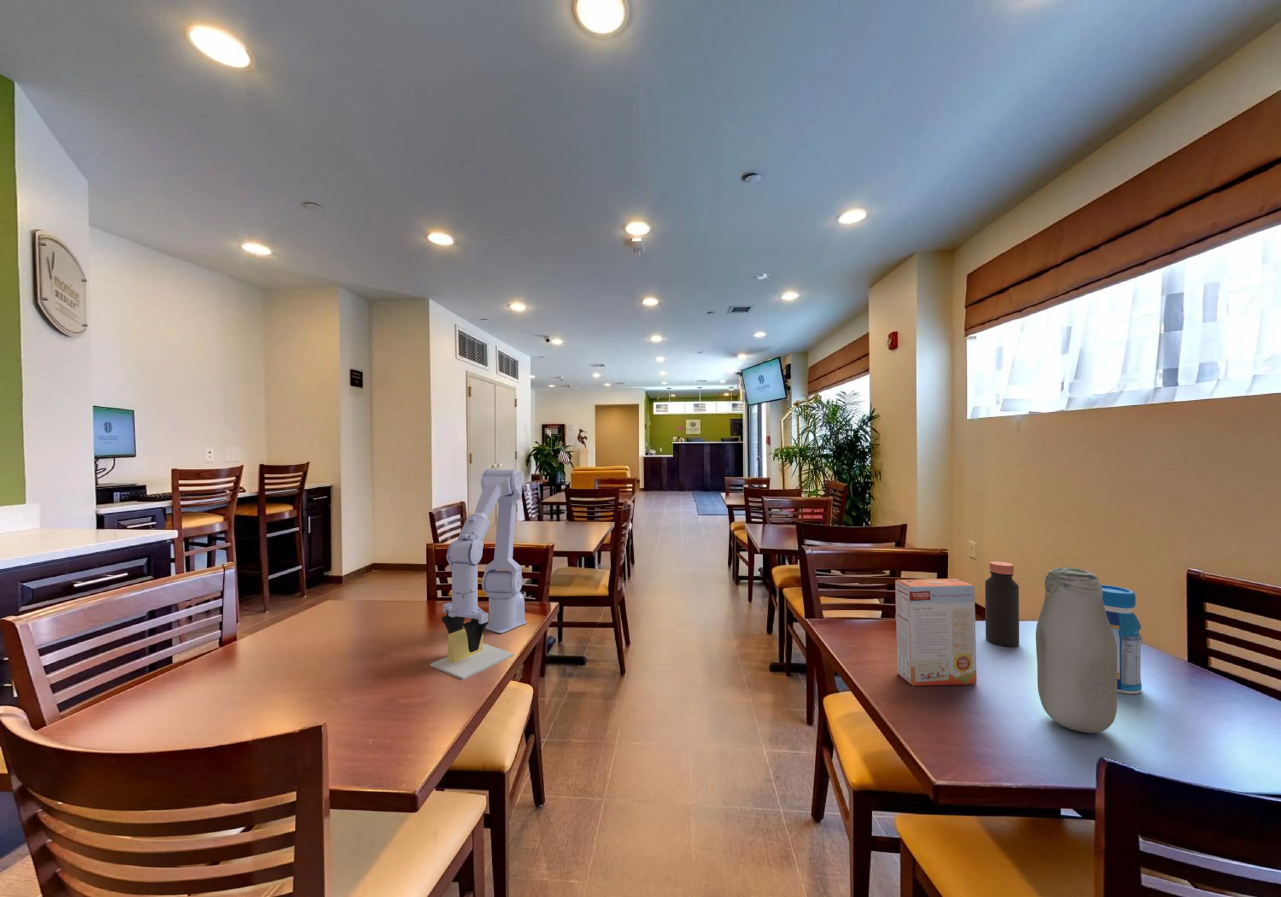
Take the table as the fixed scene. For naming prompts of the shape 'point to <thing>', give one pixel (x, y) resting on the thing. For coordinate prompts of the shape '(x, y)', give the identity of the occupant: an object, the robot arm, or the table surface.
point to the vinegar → (1002, 605)
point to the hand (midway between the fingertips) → (465, 647)
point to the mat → (473, 662)
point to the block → (460, 646)
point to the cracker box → (936, 631)
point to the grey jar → (1076, 652)
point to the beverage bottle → (1124, 636)
